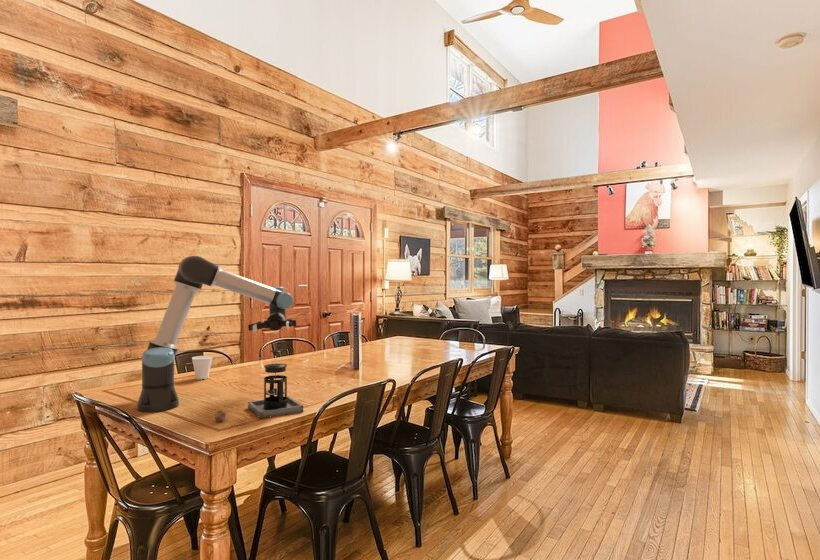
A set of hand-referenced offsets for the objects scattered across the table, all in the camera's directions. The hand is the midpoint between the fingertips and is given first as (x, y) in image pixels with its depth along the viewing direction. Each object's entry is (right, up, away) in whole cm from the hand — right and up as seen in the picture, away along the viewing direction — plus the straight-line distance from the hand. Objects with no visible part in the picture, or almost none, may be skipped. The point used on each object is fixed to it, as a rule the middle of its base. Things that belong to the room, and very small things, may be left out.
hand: (270, 327), depth 201 cm
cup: (-49, -31, +46) cm, 74 cm away
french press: (+4, -32, -8) cm, 33 cm away
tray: (+4, -32, -8) cm, 34 cm away
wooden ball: (-12, -33, -23) cm, 42 cm away
